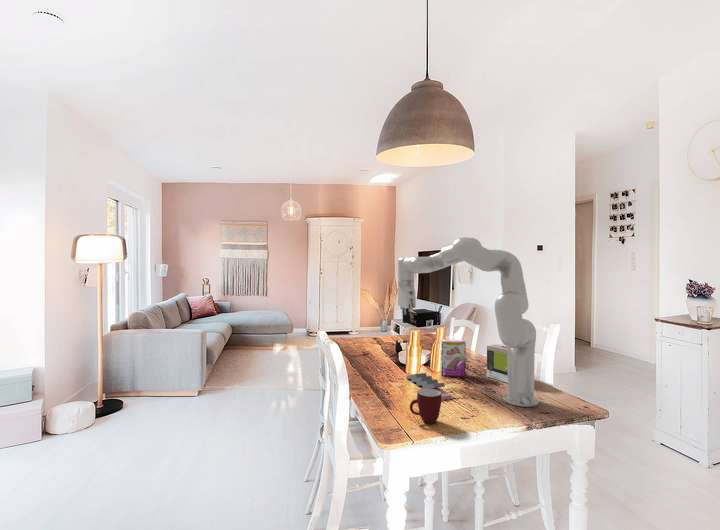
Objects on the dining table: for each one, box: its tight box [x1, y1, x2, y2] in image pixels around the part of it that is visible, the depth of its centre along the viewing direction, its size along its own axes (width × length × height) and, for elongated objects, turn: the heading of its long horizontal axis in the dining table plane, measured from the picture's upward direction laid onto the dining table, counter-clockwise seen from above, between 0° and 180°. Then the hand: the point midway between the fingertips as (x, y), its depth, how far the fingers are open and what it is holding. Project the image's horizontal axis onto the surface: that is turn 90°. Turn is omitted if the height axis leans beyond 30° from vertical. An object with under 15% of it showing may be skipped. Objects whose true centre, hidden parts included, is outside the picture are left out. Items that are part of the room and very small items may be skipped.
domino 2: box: [410, 375, 433, 383], centre depth 172 cm, size 2×5×10 cm
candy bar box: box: [440, 339, 467, 377], centre depth 186 cm, size 11×5×16 cm, turn 84°
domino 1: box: [405, 372, 427, 380], centre depth 177 cm, size 2×5×10 cm
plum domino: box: [430, 387, 452, 401], centre depth 158 cm, size 2×5×10 cm
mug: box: [409, 388, 443, 425], centre depth 133 cm, size 10×8×10 cm
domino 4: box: [421, 382, 445, 389], centre depth 162 cm, size 2×5×10 cm
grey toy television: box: [486, 343, 508, 384], centre depth 179 cm, size 15×10×15 cm, turn 28°
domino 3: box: [415, 379, 439, 387], centre depth 168 cm, size 2×5×10 cm
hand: (406, 322), depth 185 cm, fingers closed
